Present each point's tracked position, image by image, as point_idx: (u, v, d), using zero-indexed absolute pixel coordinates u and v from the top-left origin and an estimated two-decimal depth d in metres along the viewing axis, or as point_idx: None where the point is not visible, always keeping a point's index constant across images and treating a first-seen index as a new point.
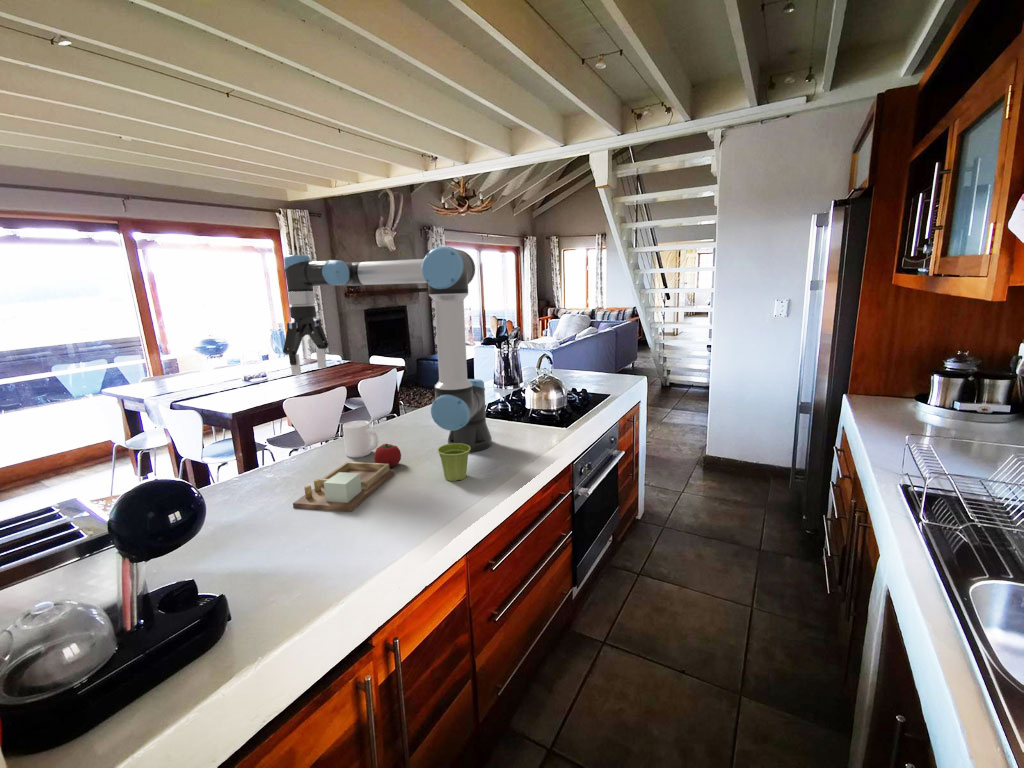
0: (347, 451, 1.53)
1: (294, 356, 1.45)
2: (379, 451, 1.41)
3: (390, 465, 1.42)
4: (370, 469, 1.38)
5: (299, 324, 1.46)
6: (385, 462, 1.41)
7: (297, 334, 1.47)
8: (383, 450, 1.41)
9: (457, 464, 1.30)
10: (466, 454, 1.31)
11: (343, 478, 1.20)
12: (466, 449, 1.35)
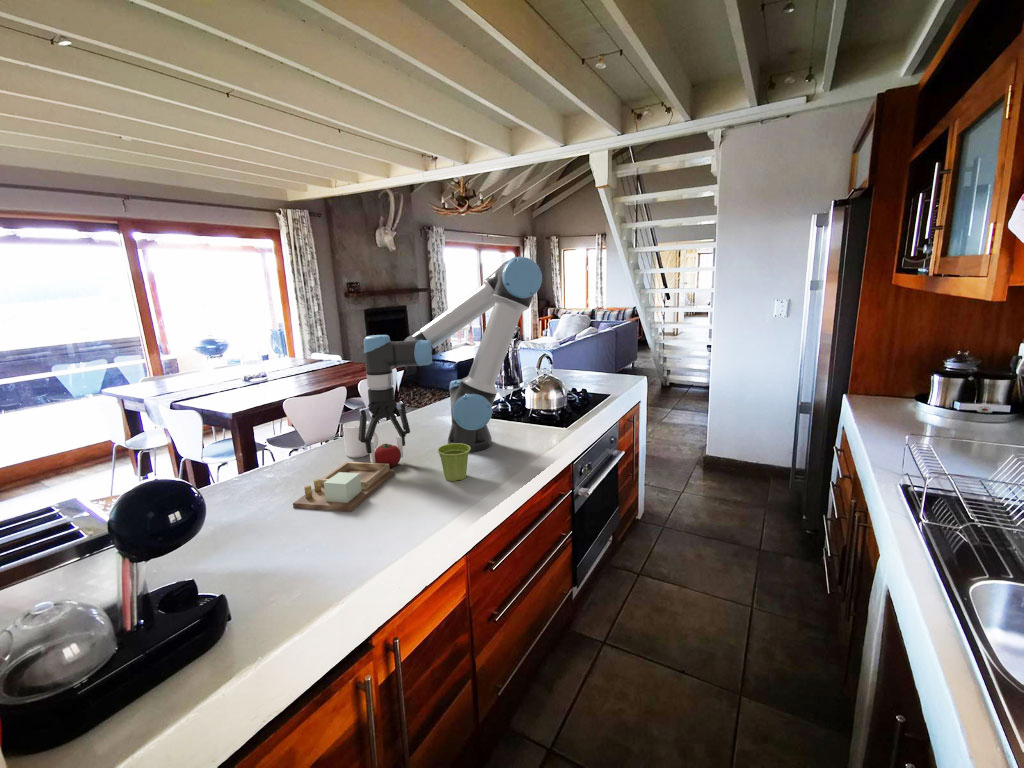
0: (347, 451, 1.53)
1: (368, 445, 1.40)
2: (379, 451, 1.41)
3: (390, 465, 1.42)
4: (370, 469, 1.38)
5: (370, 409, 1.38)
6: (385, 462, 1.41)
7: (372, 419, 1.40)
8: (383, 450, 1.41)
9: (457, 464, 1.30)
10: (466, 454, 1.31)
11: (343, 478, 1.20)
12: (466, 449, 1.35)
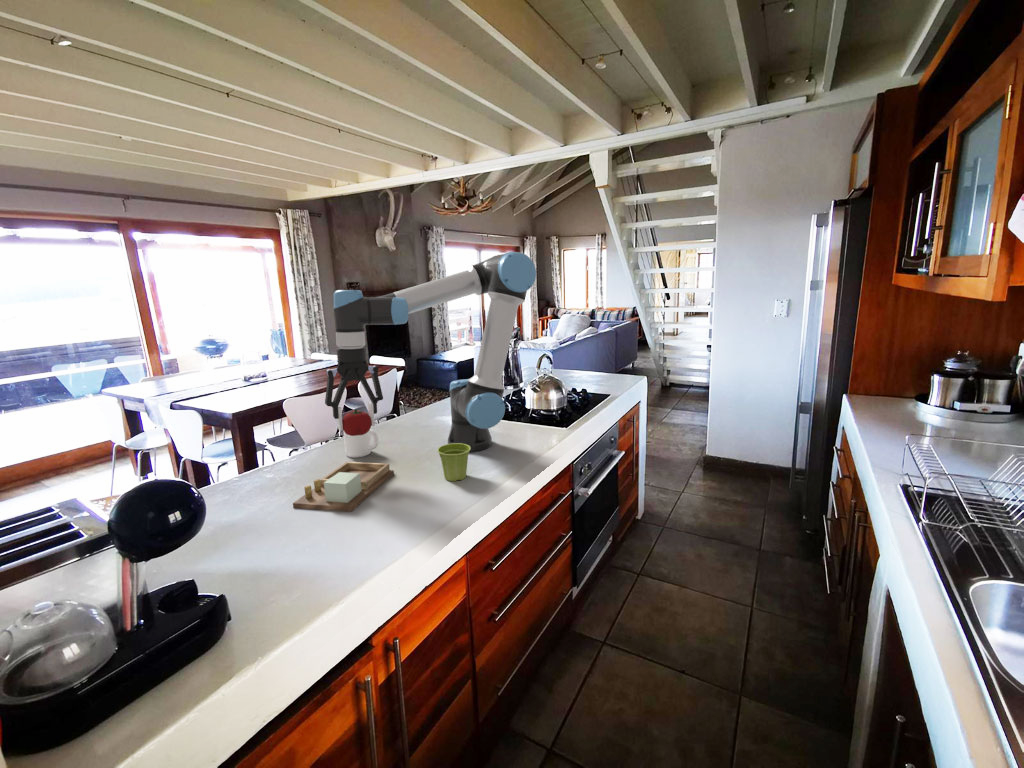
0: (347, 451, 1.53)
1: (336, 409, 1.28)
2: (347, 417, 1.29)
3: (358, 433, 1.31)
4: (370, 469, 1.38)
5: (338, 370, 1.27)
6: (352, 429, 1.29)
7: (341, 382, 1.29)
8: (351, 416, 1.29)
9: (457, 464, 1.30)
10: (466, 454, 1.31)
11: (343, 478, 1.20)
12: (466, 449, 1.35)
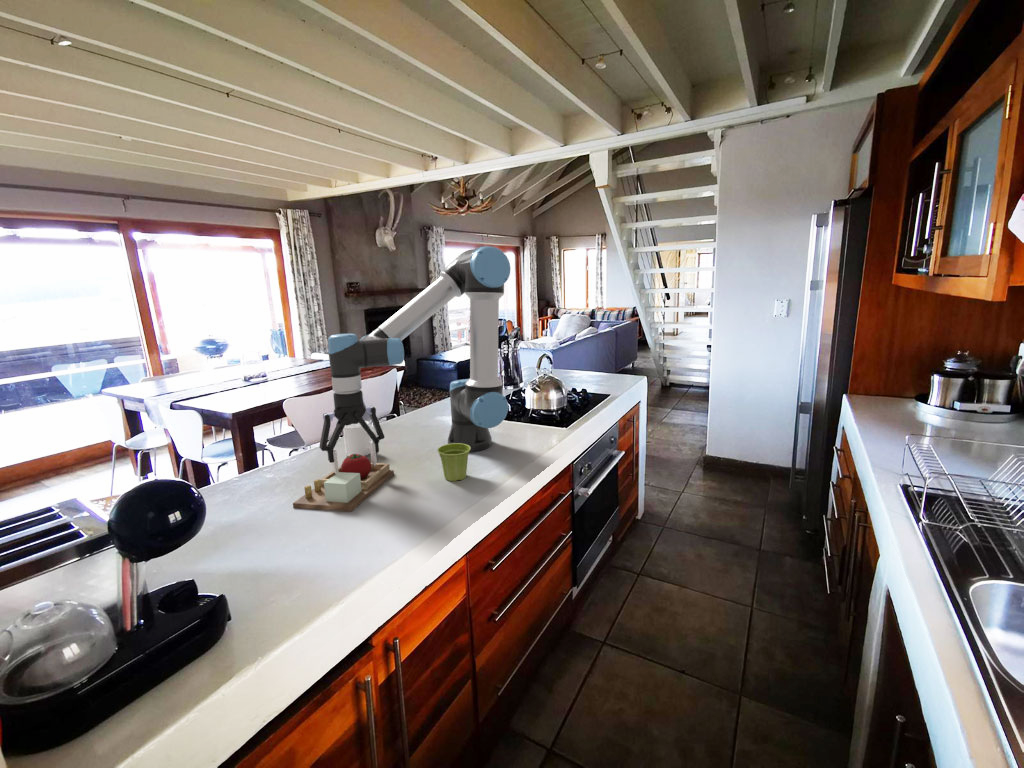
0: (347, 451, 1.53)
1: (331, 453, 1.27)
2: (346, 462, 1.29)
3: None
4: None
5: (336, 414, 1.26)
6: None
7: (337, 426, 1.28)
8: (350, 461, 1.29)
9: (457, 464, 1.30)
10: (466, 454, 1.31)
11: (343, 478, 1.20)
12: (466, 449, 1.35)
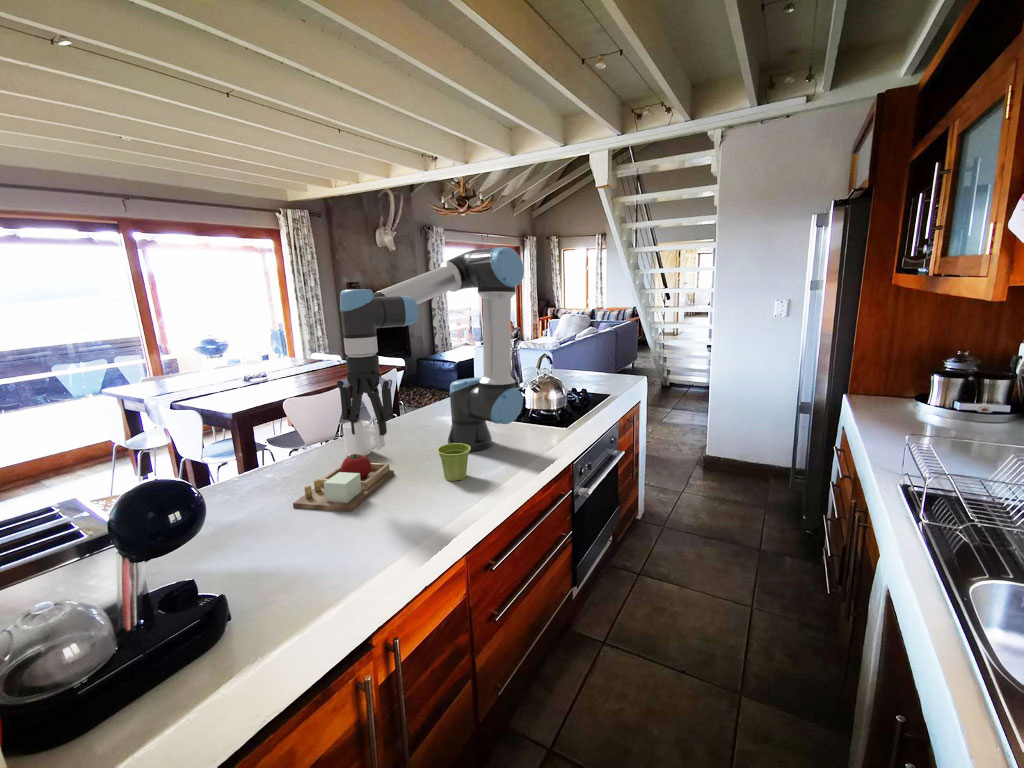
0: (347, 451, 1.53)
1: (353, 424, 1.16)
2: (346, 462, 1.29)
3: None
4: None
5: (347, 380, 1.14)
6: None
7: None
8: (350, 461, 1.29)
9: (457, 464, 1.30)
10: (466, 454, 1.31)
11: (343, 478, 1.20)
12: (466, 449, 1.35)
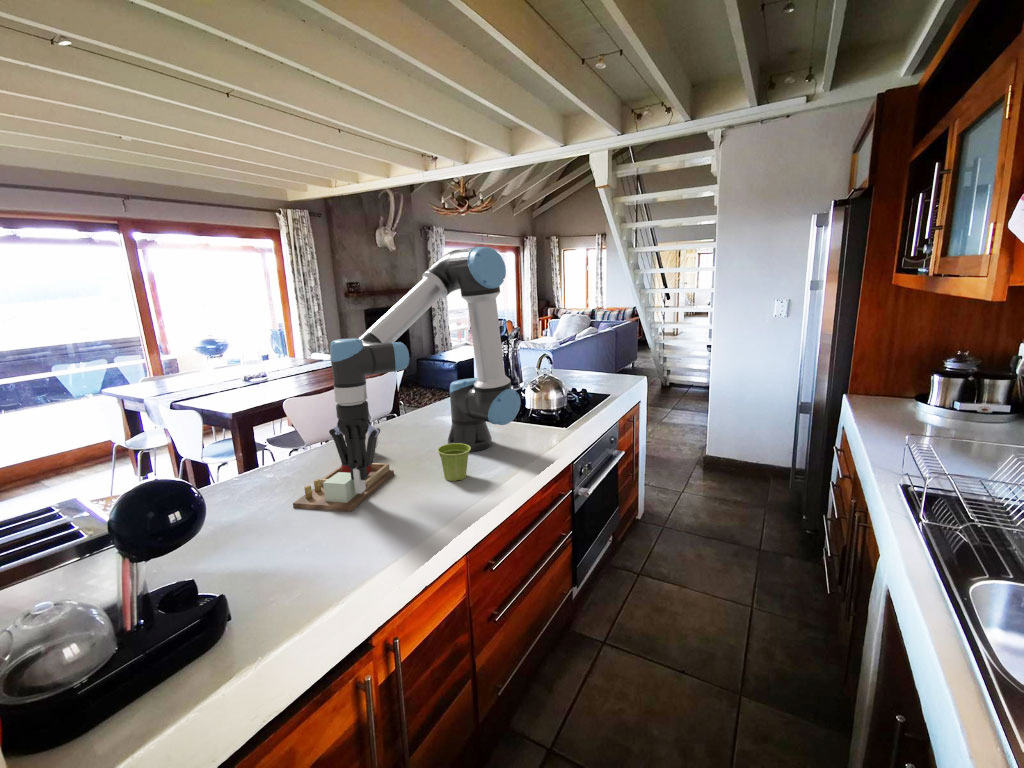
0: None
1: (352, 470, 1.19)
2: None
3: None
4: None
5: (338, 427, 1.17)
6: None
7: None
8: None
9: (457, 464, 1.30)
10: (466, 454, 1.31)
11: (343, 478, 1.20)
12: (466, 449, 1.35)
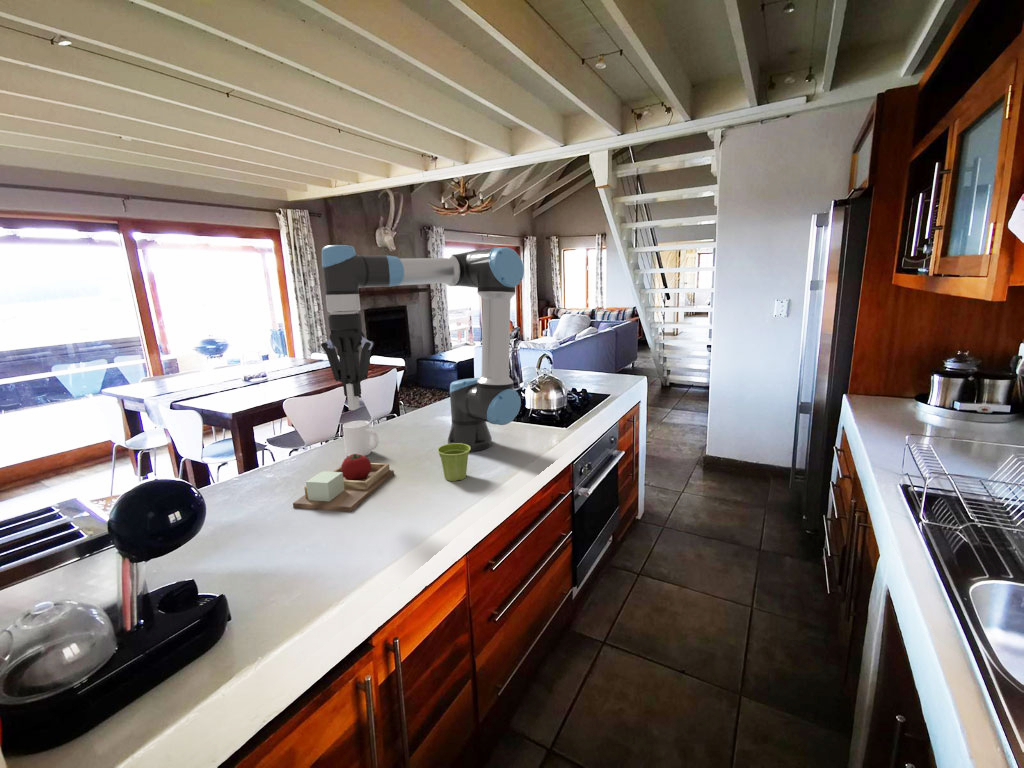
0: (347, 451, 1.53)
1: (345, 385, 1.15)
2: (346, 462, 1.29)
3: (358, 477, 1.30)
4: None
5: (330, 339, 1.13)
6: (352, 474, 1.28)
7: None
8: (350, 461, 1.29)
9: (457, 464, 1.30)
10: (466, 454, 1.31)
11: (326, 477, 1.21)
12: (466, 449, 1.35)
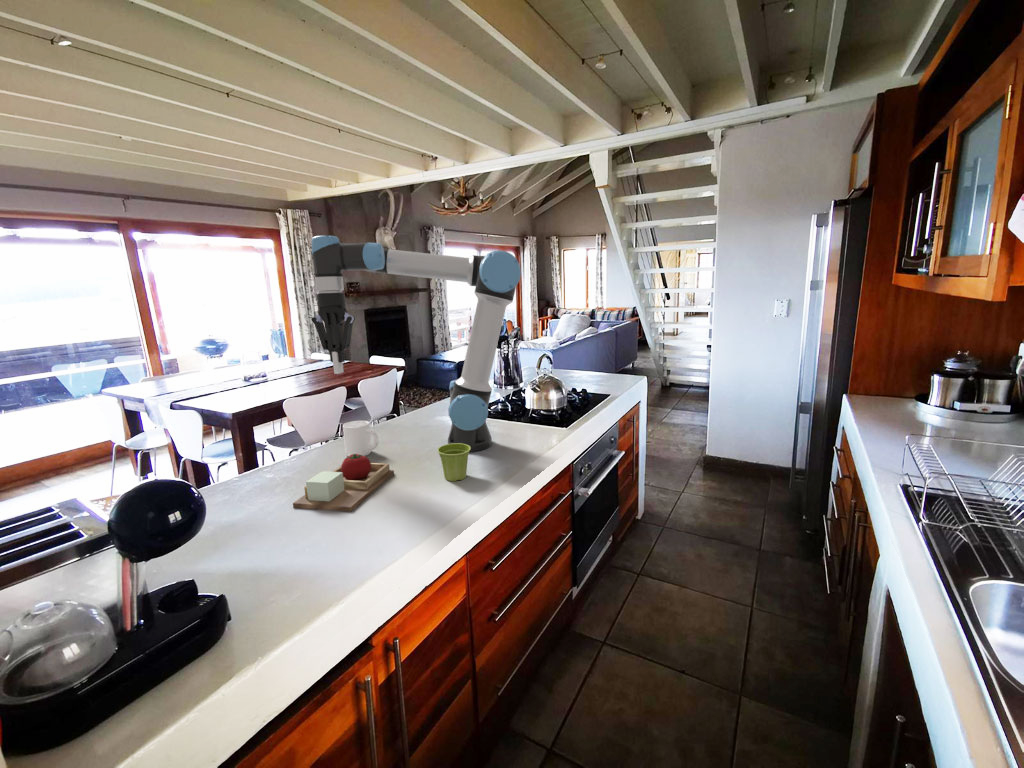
0: (347, 451, 1.53)
1: (331, 353, 1.38)
2: (346, 462, 1.29)
3: (358, 477, 1.30)
4: None
5: (319, 314, 1.36)
6: (352, 474, 1.28)
7: None
8: (350, 461, 1.29)
9: (457, 464, 1.30)
10: (466, 454, 1.31)
11: (326, 477, 1.21)
12: (466, 449, 1.35)
